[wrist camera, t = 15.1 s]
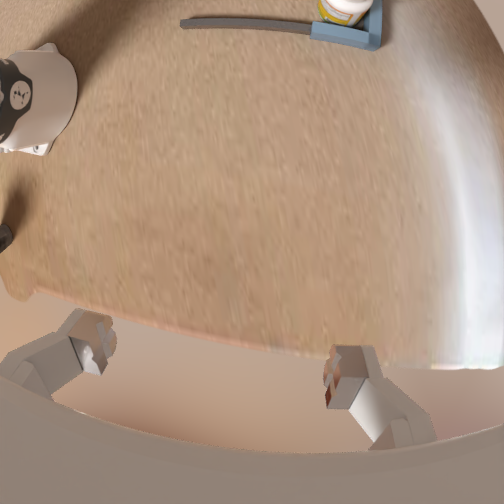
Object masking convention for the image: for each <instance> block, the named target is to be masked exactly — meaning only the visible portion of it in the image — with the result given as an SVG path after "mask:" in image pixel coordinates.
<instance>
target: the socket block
mask: <svg viewBox="0 0 504 504" xmlns="http://www.w3.org/2000/svg"><path fill="white" fill-rule="evenodd" d="M381 29H382V0H373V3H372V5H371V7H370V8H369V9H368V11H367V12H366V13H365V14H364V27H363V31H361V30H356V29H352V28H347V27H342V26H337V25H332V24H327V23H321V22H315V21H313V23H312V30H311V34H310V39H316V40H322V41H328V42H333V43H338V44H343V45H348V46H353V47H357V48H361V49H366V50H370V51H375V50H376V49H378V48H379V47H381Z"/></svg>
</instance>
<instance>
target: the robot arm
mask: <svg viewBox="0 0 504 504" xmlns="http://www.w3.org/2000/svg"><path fill="white" fill-rule="evenodd" d="M76 98H77V78H76V73H75V70H74V68H73V66H72V64H71V63H70V62H69V61H68V60H67V59H66V58H65V57H63V56H62V55H60V54H59V52H58V50H57V47H56V45H55V44H54V43H46V44H44V45H43V46H41V47H39V48H38V49H36V50H18V51H15V53H14V54H12V55H10V56H9V57H8V58H7V59H1V58H0V153H1V152H6V153H7V152H12V151H16V150H19V151H23V152H28V153H32V154H36V155H46V154H47V153H48V152H49V150H50V148H51V146H52V143H53V141H54V139H55V138H56V137H57V136H58V135H59V134H60V133H61V132H62V130H63V129H64V128H65V127H66V125H67V123H68V122H69V120H70V118H71V116H72V113H73V110H74V107H75V103H76ZM38 146H39V148H38ZM112 325H113V322H112V318H111V317H110V316H108V315H104V314H100V313H96V312H92V311H87V310H83V309H80V308H77V309H75V310H74V311H73V312H72V313H71V314H70V316H69V317H68V318H67V319H66V321H65V322H64V323H63V324H62V326H61V327H60V328H59V329H58V331H57V332H56V333H55V332H52V333H50V334H48V335H45V336H43V337H41V338H39V339H37V340H35V341H32V342H30V343H28V344H26V345H24V346H22V347H20V348H17V349H15V350H13V351H11V352H9V353H8V354H7V355H6V357H5V358H4V359H3V361H2V362H1V363H0V504H504V424H501V425H498V426H495V427H491V428H488V429H484V430H481V431H478V432H474V433H470V434H466V435H462V436H458V437H454V438H449V439H445V440H441V441H437V437H436V434H435V431H434V428H433V425H432V421H431V418H430V416H429V414H428V413H427V412H426V411H425V410H424V409H422V408H421V407H420V406H419V405H418V404H417V403H416V402H414V401H413V400H412V399H411V398H410V397H408V395H406V394H405V393H404V392H403V391H402V390H401V389H400V388H398V387H397V386H396V385H395V384H394V383H393V382H392V381H390V380H389V379H388V378H384V377H383V374H382V370H381V367H380V364H379V361H378V358H377V355H376V352H375V349H374V347H373V346H372V345H338V344H333V345H332V347H331V349H330V352H329V353H330V358H329V359H328V360H327V361H326V364H325V367H324V373H323V380H324V385H325V386H326V387H327V391H326V393H325V399H326V407H327V409H349V411H350V412H351V414H352V415H353V416H354V418H355V419H356V420H357V421H358V423H359V424H360V425H361V427H362V428H363V429H364V430H365V432H366V433H367V434H368V436H369V437H370V438H371V439H372V441H373V442H374V444H373V445H372V446H371V447H370V448H369V449H368V451H360V452H344V453H343V452H342V453H284V452H267V451H254V450H244V449H234V448H226V447H219V446H212V445H205V444H200V443H193V442H188V441H183V440H178V439H173V438H168V437H164V436H159V435H155V434H151V433H147V432H143V431H139V430H136V429H132V428H128V427H125V426H121V425H118V424H115V423H111V422H108V421H105V420H102V419H99V418H96V417H93V416H90V415H88V414H85V413H82V412H79V411H76V410H74V409H72V408H69V407H66V406H64V405H61V404H59V403H57V402H55V401H54V400H53V398H52V396H51V394H52V393H54V392H55V391H57V390H58V389H59V388H61V387H62V386H64V385H65V384H66V383H68V382H69V381H70V380H72V379H74V378H75V377H77V376H78V375H79V374H81V373H82V372H83V371H86V372H89V373H93V374H96V375H100V376H101V375H102V373H103V372H104V370H105V368H106V366H107V364H108V362H107V358H109V357H111V356H112V355H113V353H114V352H115V349H116V344H117V337H116V334H115V332H114V331H113V329H112V328H111V326H112Z"/></svg>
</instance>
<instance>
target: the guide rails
mask: <svg viewBox="0 0 504 504" xmlns="http://www.w3.org/2000/svg"><path fill="white" fill-rule="evenodd" d="M180 27H181V28H182V29H204V28H233V29H257V30H271V31H281V32H290V33H299V34H306V35H310V34H311V30H312V25H309V24H302V23H294V22H285V21H275V20H262V19H242V18H203V19H183V20H181V22H180Z"/></svg>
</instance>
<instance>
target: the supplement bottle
mask: <svg viewBox="0 0 504 504" xmlns="http://www.w3.org/2000/svg"><path fill="white" fill-rule="evenodd" d="M372 3H373V0H319V3H318V13H319V15H320V17H321V18H322V20H323V21H324V22H326V23H327V24H332V25H337V26H342V27H347V28H350V27H353V26H354V25H356V24H357V23H358V22H359V20H360V19H361V18H362V16H363V15H364V14H365V13H366V12H367V11H368V9H369V8H370V7H371V5H372Z"/></svg>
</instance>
